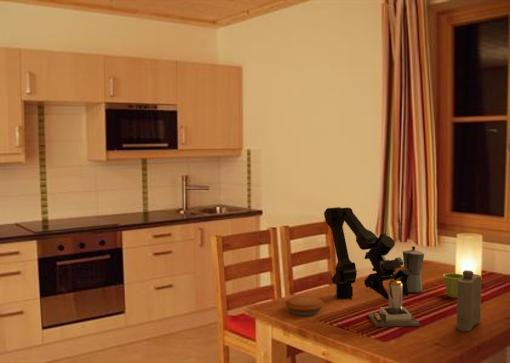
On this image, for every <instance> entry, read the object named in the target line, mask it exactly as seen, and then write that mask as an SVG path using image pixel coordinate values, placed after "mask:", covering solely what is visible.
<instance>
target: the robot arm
mask: <svg viewBox="0 0 510 363" xmlns="http://www.w3.org/2000/svg"><path fill="white" fill-rule="evenodd" d="M323 216H324V219H325V224H327V226H328V227H329V228H330V229H331V234H332V238H333V245H334V249H335V254H336V260H337V263H336V265H335V273H334V275H333V276H332V277H331V282H332V284H333V285H335V293H334V296H335V298H336V299H337V300H353V296H354V292H353V291H354V290H353V288H354V287H353V286H352V284H355V283H356V278H357V275H358V274H357V273H358V271H357V267H356V262H352V261H351V259H350V256H349V252H348V247H347V242H346V236H345V233H344V227H343V226H344V223H346V225H347V226H348V227H349V229H350V230H351V231H352V233H353V234H354V236H355V242H356V243H357V245H358V247H359V249H361V250H363V251H366V250H368V251H367V252H365V255H364V260H369V262H370V264H371V266H372V272H373V273H370V274H369V275H367V277H366V278H365V279H364V285H365V287H366V288H367V289H368V288H369V289H370V290H373V291H374V292H376V293H378V294H379V295H380V296H381V297H383V298H384V299H386V301H389V293H388V292H387V290H386V288H385V286H384V282H385V281H391V280H399V281H401V283H402V284H403V286H402V294H404V296H405V297H409V292H408V288H407V279H408V278H409V276H410V275H411V273H410V271H409V270H408V269H404V268H403V269H400V268H402V266H404V261H403V258H401V256H400V257H396V258H394V259H391V260H390V259H387V258H386V257H385V256H387V255H388V254H389V253H390V252H391V250H392V249H393V248H394V247H395V246H396V245H395V244H396V242H395V240H394V239H393V238H392V237H391V236H390V235H387V234H386V233H380V234H379V237H378V236H377V235H376V234H375V233H374V232H373V231H372V230H369V229H367V228H366V227H365V226H364V225H363V224H362V222H361V221H360V220H359V218H358V217H357V216H356V215H355V213H354V211H353V209H352V208H351V207H340V206H339V207H338V206H337V207H327V208H326V209H325V210H324V213H323ZM396 269H399V270H398V271H397V270H396ZM396 271H397V272H396ZM374 272H375V273H374ZM395 272H396V273H395Z"/></svg>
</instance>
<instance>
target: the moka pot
mask: <svg viewBox="0 0 510 363" xmlns="http://www.w3.org/2000/svg"><path fill="white" fill-rule="evenodd" d="M424 258H425V252H423V251H419V250H416V246H414V245H412V247H411V249H408V250H403V251H402V261H403V269H408V270H409V271H410V273H411V275H410V276H409V278H408V279H407V288H408V293H421V292H423V284H422V282H423V280H422V270H423V265H424V264H423V263H424V260H425V259H424Z"/></svg>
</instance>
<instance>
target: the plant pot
mask: <svg viewBox="0 0 510 363" xmlns="http://www.w3.org/2000/svg"><path fill="white" fill-rule="evenodd" d="M462 276H463V274H460V273H444V274H443V275H442V277H443V280H444V285H445V292H446V296H448V297H450V298H457V281H458V279H459V278H460V277H462Z"/></svg>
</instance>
